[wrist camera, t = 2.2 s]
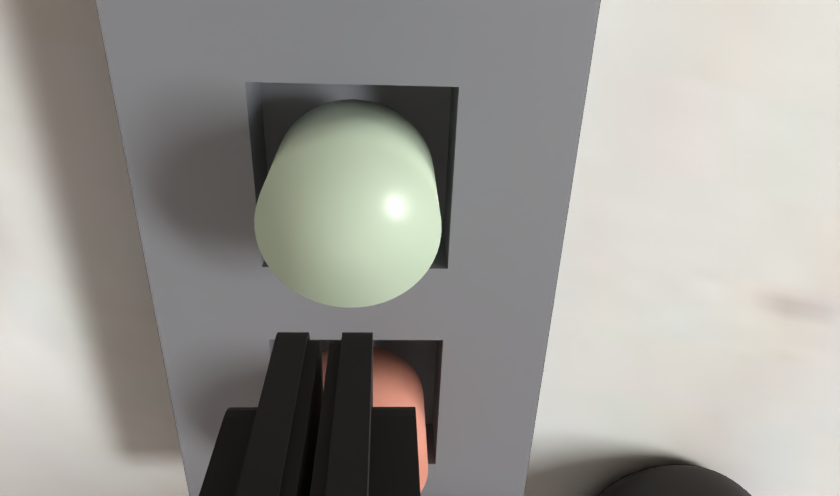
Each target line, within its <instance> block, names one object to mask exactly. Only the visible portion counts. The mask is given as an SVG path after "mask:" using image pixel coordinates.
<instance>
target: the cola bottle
mask: <svg viewBox="0 0 840 496" xmlns="http://www.w3.org/2000/svg"><path fill="white" fill-rule="evenodd" d="M599 496H751V495H750V494H749V493H748V492H747V491H746V490H745V489H743V488H742V487H741V486H740V485H738V484H737V483H736V482H734V481H733V480H731V479H729V478H728V477H726V476H724V475H722V474H720V473H718V472H715V471H712V470H709V469H706V468H702V467H697V466H690V465H666V466H658V467H653V468H649V469H645V470H642V471H639V472H636V473H633V474H631V475H628V476H626V477H624V478H622V479H620V480H619V481H617V482H615V483H614V484H612V485H611V486H609V487H608V488H607V489H605V490H604V491H603V492H602V493H601V494H600V495H599Z"/></svg>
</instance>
